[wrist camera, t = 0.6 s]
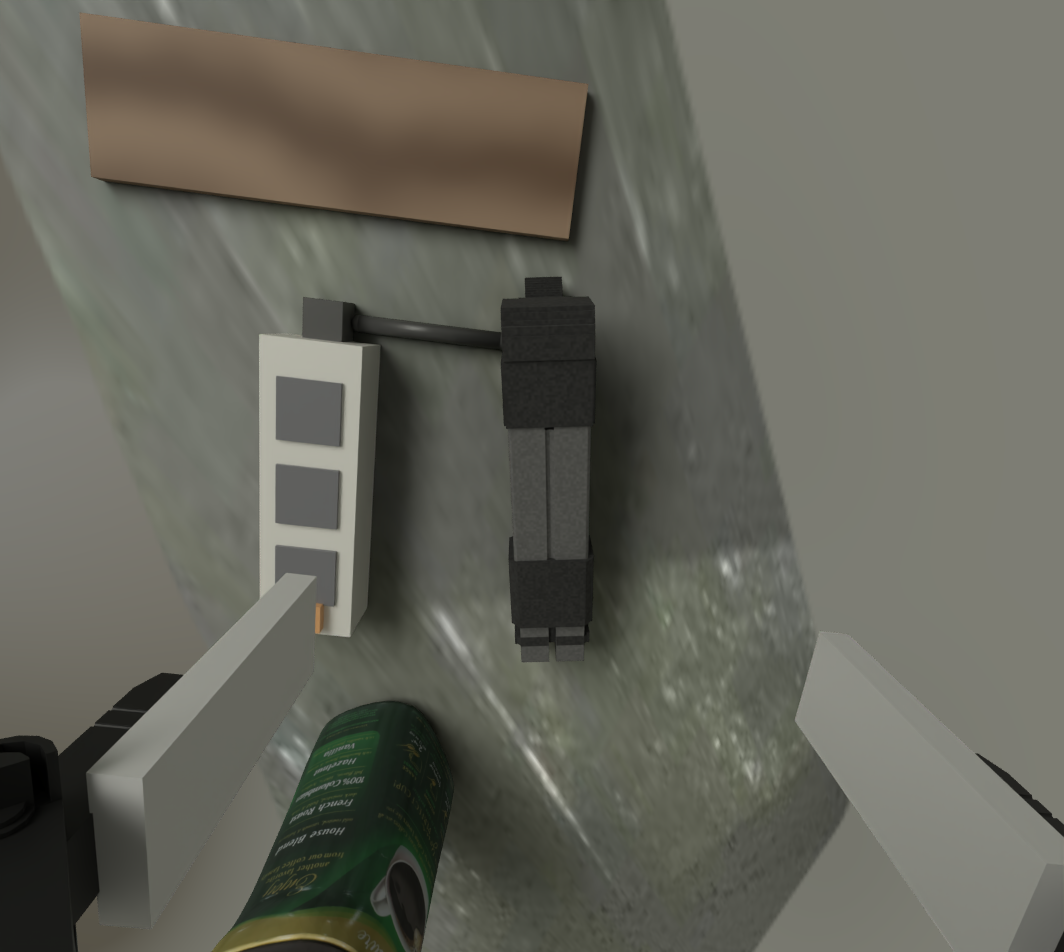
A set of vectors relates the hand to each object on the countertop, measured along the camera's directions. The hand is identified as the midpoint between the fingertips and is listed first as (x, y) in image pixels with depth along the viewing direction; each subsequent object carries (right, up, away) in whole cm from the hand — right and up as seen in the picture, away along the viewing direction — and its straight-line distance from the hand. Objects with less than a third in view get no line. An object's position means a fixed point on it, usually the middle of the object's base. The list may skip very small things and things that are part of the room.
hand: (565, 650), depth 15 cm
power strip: (-9, +5, +18) cm, 21 cm away
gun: (0, +5, +19) cm, 19 cm away
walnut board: (-10, +22, +14) cm, 28 cm away
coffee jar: (-10, -14, +23) cm, 29 cm away
